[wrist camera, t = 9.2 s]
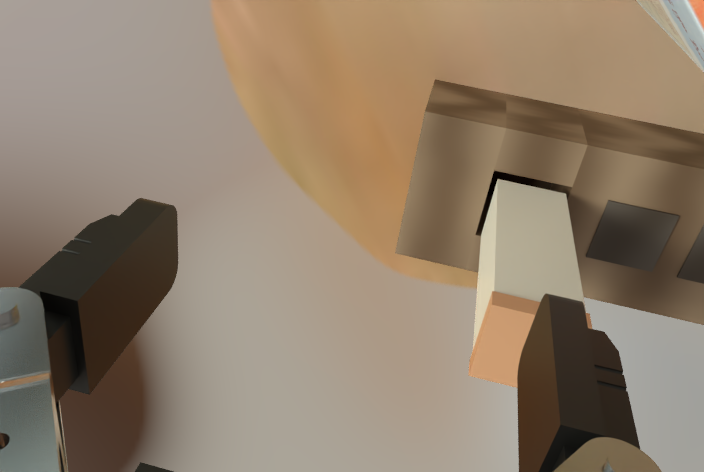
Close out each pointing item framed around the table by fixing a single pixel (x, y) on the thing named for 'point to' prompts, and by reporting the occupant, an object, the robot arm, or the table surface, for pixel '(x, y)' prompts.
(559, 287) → the plug
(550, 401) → the robot arm
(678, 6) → the cracker box
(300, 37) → the table surface
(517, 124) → the socket block
